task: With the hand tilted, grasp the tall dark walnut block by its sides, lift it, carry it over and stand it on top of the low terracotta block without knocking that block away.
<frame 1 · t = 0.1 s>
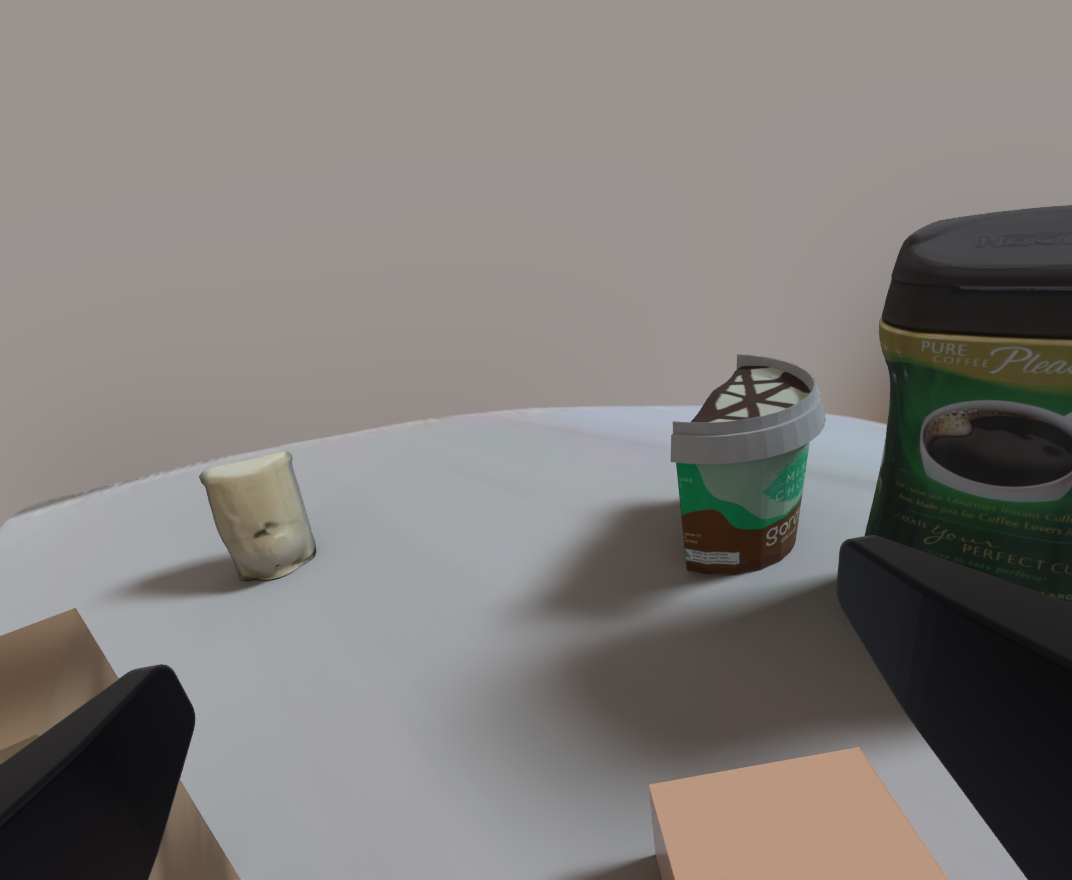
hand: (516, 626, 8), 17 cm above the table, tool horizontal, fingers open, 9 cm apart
coffee jar: (967, 624, 27), on the table
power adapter: (284, 563, 41), on the table
food container: (761, 541, 35), on the table
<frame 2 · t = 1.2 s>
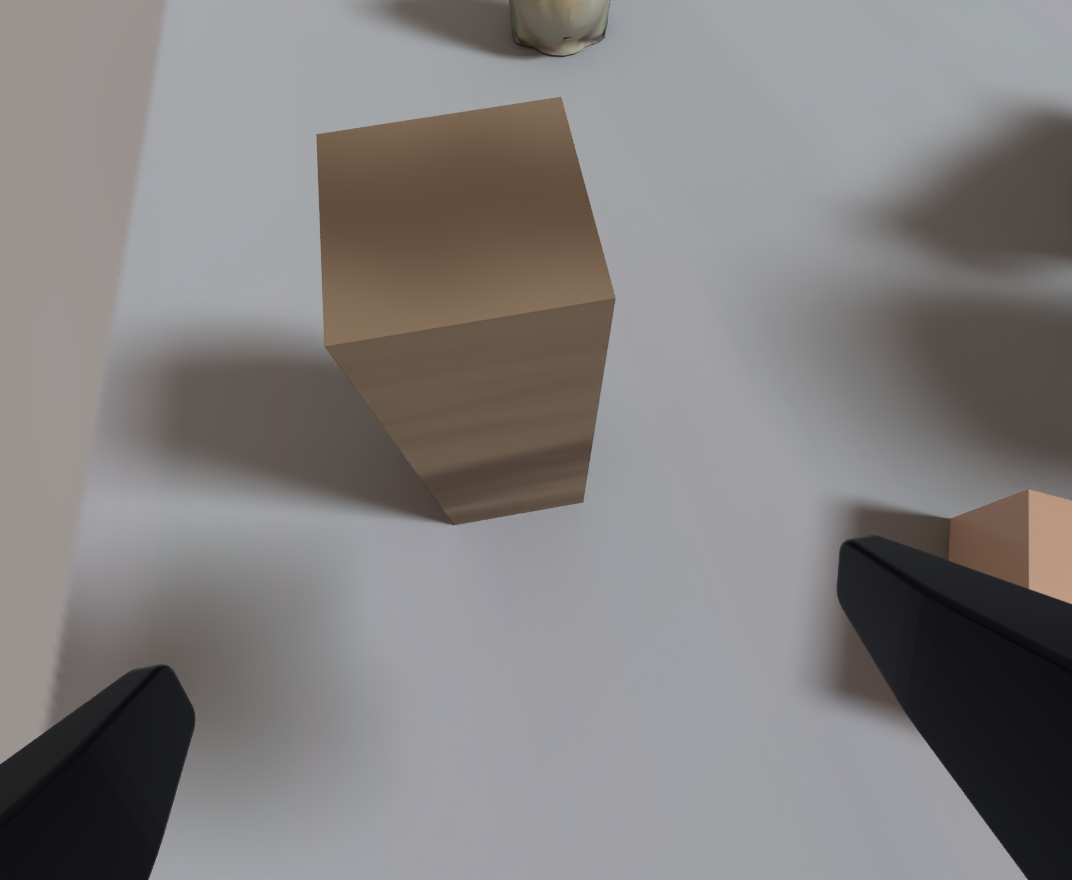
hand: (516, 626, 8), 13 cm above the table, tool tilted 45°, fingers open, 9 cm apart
terracotta block: (1048, 644, 20), on the table
walnut block: (508, 453, 23), on the table
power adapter: (564, 35, 32), on the table
when the fingers open (11 cm above the table, at t = 6.7 s): walnut block drops 1 cm, resting on terracotta block.
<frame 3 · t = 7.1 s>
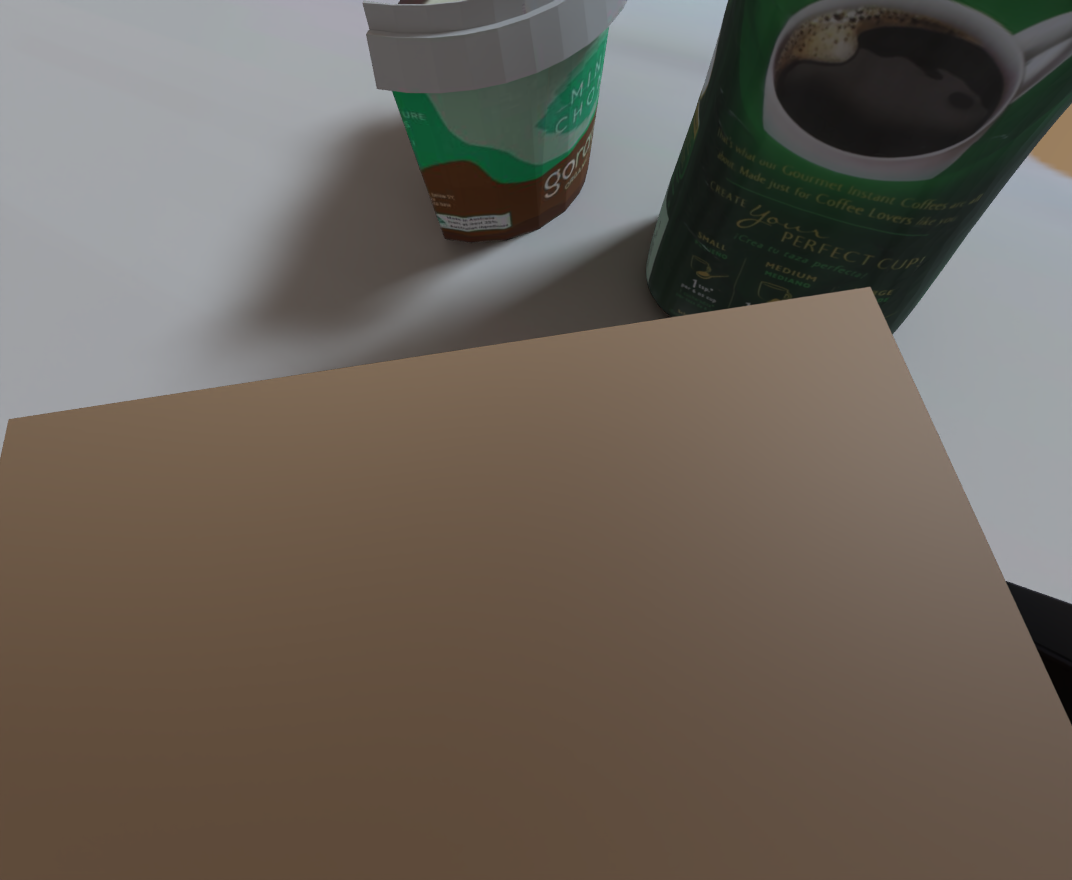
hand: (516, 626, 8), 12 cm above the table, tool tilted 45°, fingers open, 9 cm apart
walnut block: (550, 702, 14), point 4 cm above the table, touching terracotta block
coffee jar: (762, 284, 23), on the table
food container: (544, 177, 26), on the table
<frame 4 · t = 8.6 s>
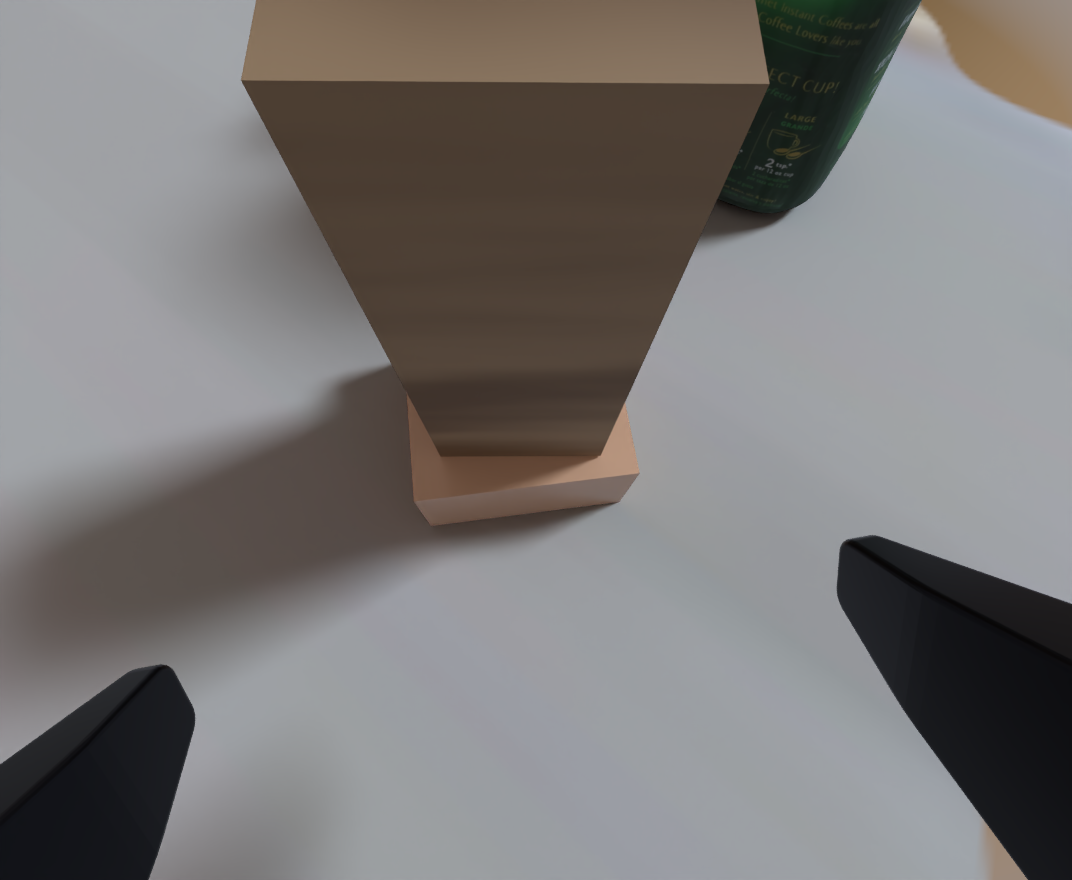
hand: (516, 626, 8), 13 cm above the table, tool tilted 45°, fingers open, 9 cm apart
terracotta block: (514, 428, 22), on the table, touching walnut block
walnut block: (520, 382, 19), point 4 cm above the table, touching terracotta block
coffee jar: (724, 147, 28), on the table
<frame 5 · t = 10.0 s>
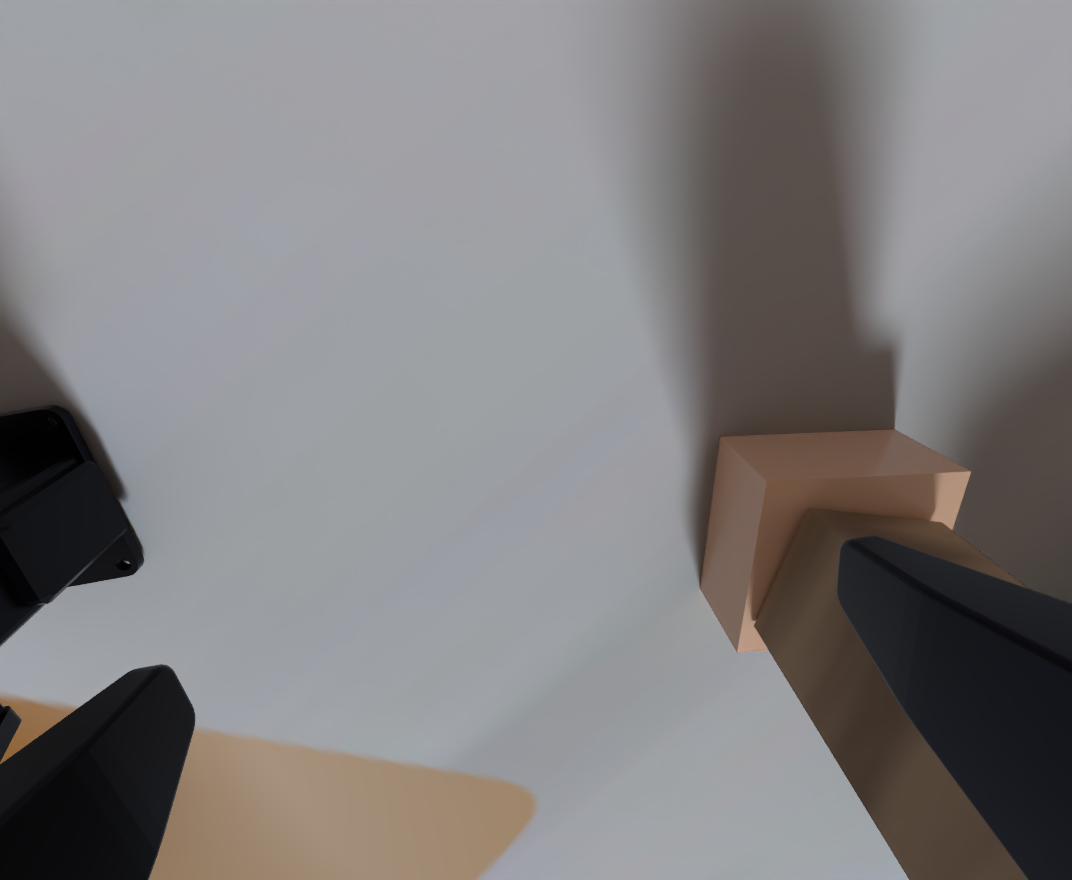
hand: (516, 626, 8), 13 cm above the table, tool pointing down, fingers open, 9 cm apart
terracotta block: (789, 509, 23), on the table, touching walnut block
walnut block: (844, 575, 20), point 4 cm above the table, touching terracotta block
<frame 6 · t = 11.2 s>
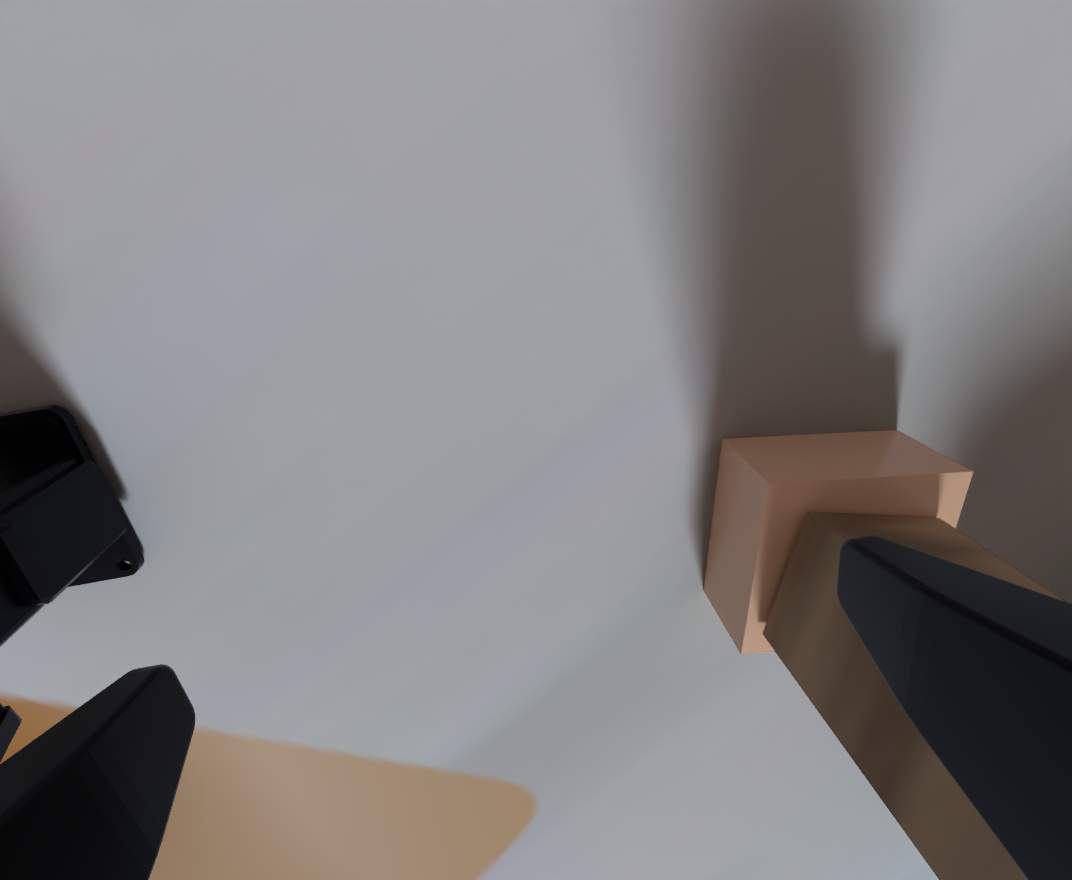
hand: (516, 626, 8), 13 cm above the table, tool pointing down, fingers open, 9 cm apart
terracotta block: (792, 510, 23), on the table, touching walnut block
walnut block: (848, 577, 20), point 4 cm above the table, touching terracotta block
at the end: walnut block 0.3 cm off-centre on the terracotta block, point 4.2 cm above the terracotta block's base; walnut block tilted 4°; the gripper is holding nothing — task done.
